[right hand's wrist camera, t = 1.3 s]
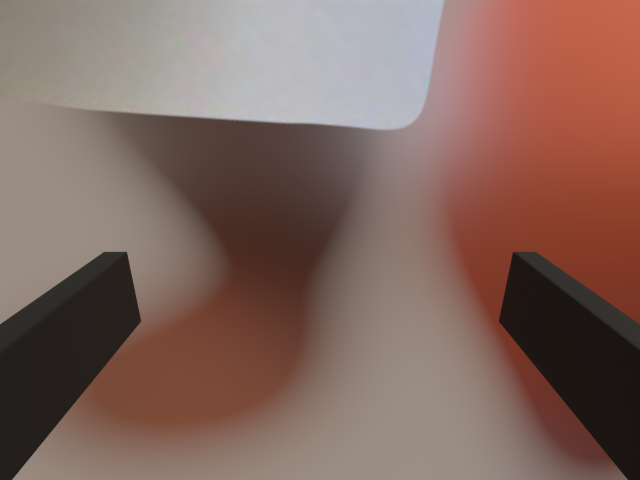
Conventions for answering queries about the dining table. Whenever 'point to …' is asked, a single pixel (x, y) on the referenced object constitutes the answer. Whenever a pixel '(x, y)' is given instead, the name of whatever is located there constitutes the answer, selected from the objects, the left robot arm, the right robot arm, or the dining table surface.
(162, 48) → the dining table surface
